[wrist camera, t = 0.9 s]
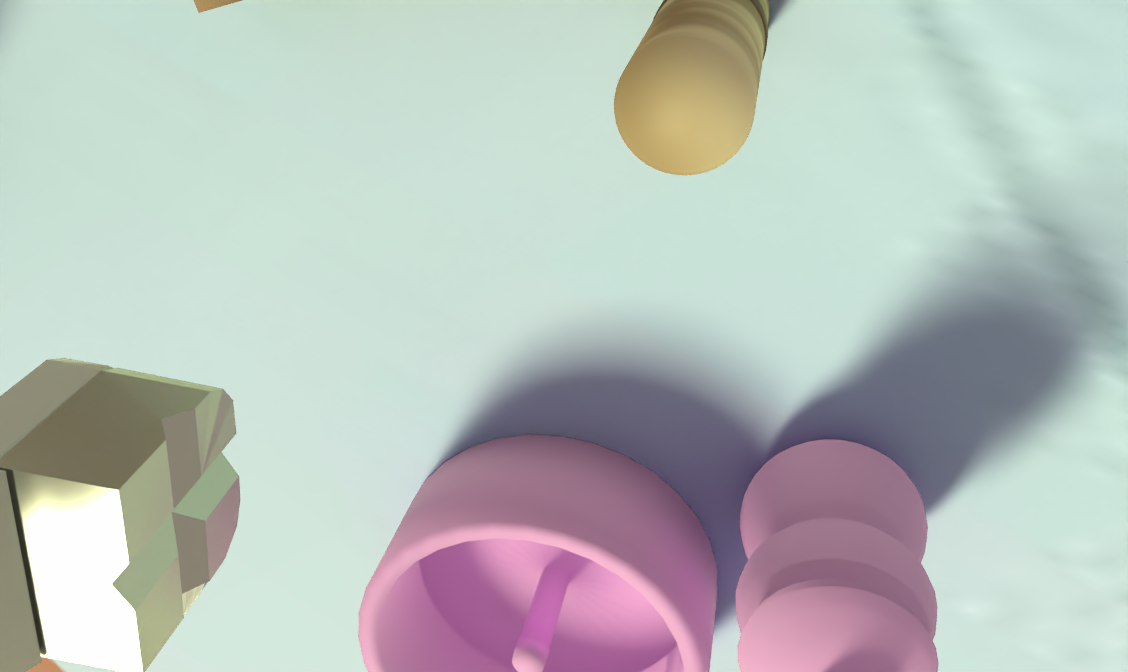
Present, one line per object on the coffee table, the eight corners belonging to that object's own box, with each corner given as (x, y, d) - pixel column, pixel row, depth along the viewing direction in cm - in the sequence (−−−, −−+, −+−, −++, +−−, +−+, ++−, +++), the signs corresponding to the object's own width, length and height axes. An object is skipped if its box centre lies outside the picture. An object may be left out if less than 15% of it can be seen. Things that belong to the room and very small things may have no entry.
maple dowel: (759, -55, 36) (740, 18, 26) (780, 51, 38) (769, 161, 28) (654, -27, 38) (595, 54, 27) (678, 75, 39) (632, 189, 29)
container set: (500, 710, 57) (423, 948, 45) (348, 488, 52) (218, 694, 40) (975, 598, 47) (1028, 863, 36) (848, 313, 42) (862, 517, 31)
